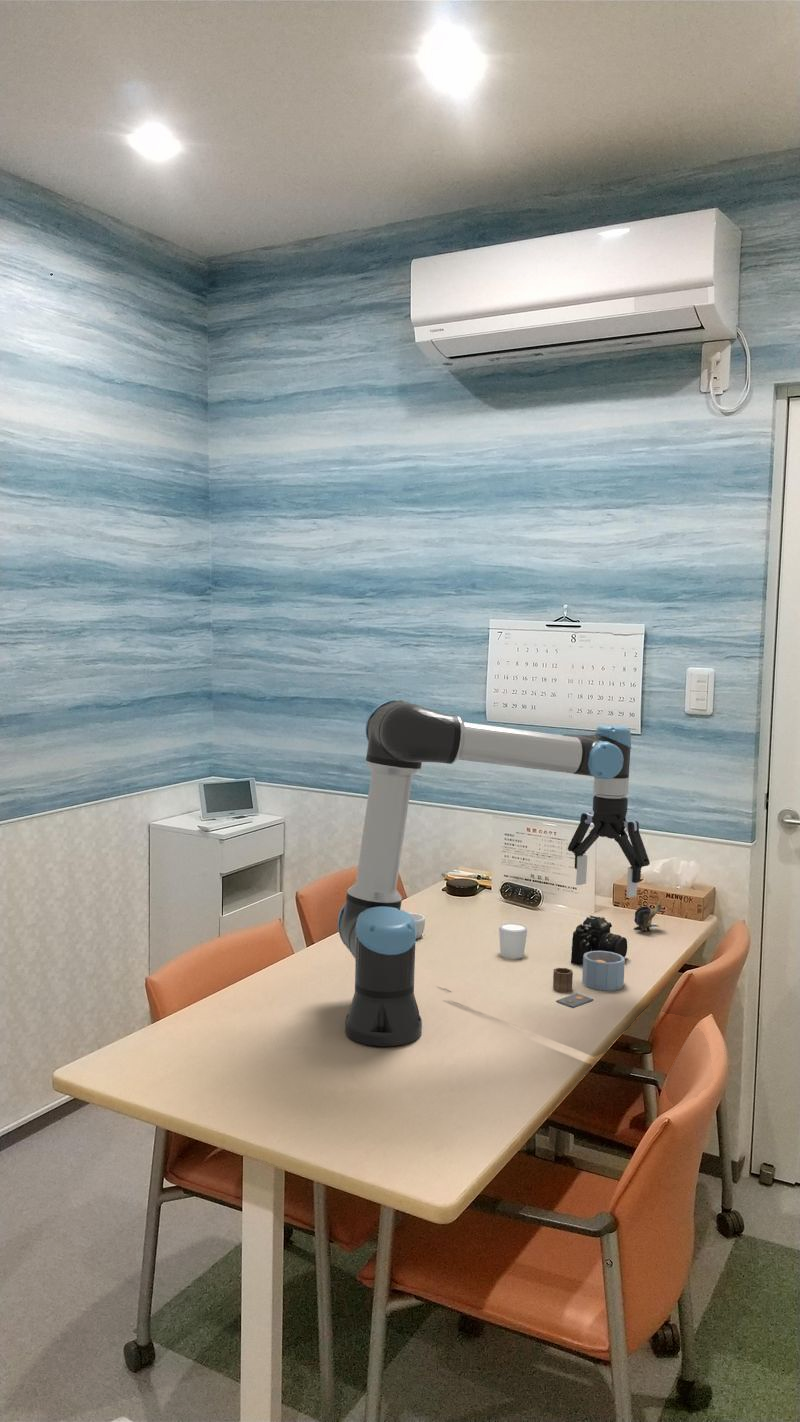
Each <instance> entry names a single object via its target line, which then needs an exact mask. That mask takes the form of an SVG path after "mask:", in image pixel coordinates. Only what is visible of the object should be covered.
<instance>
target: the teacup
mask: <svg viewBox="0 0 800 1422" xmlns="http://www.w3.org/2000/svg"><path fill="white" fill-rule="evenodd" d="M408 913H409V914H410V915H411V916H412V917H413V919H414V921H415V929H416V940H417V939H419V938H421V937H422V935H423V933H424V931H425V923H426V922H425V921H426V917H425V915H424V914H420V913H415V912H408Z"/></svg>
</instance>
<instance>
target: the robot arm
mask: <svg viewBox="0 0 800 1422" xmlns="http://www.w3.org/2000/svg"><path fill="white" fill-rule="evenodd" d="M365 736H366V741H367V742H368V743H367V749H366V756H365V757H366V758H365V763H366V764H367V765H368V767H369V768H370V770H371V773H370V780H369V788H368V793H367V801H366V808H365V815H364V822H363V830H362V836H361V844H360V849H359V850H360V851H359V856H358V857H359V858H358V866H357V871H356V876H355V877H356V878H355V883H354V884H352V886H350V887H349V888H348V889H346V897H345V903H343V906H342V907H341V909H340V911H339V913H338V918H337V929H338V930H337V931H338V934H339V937H340V939H341V941H342V944H343V946H344V945H345V947H346V949H348V951H349V952H350V953H351V955H352V956H353V958H354V960H355V966H354V967H355V969H354V994H353V997H352V1000H351V1002H350V1007H349V1012H348V1013H347V1015H346V1017H345V1018H344V1019H345V1021H344V1032H345V1034H346V1036H347V1037H348V1038H350V1040H353V1041H355V1042H357V1043H360V1044H363V1045H368V1046H376V1047H377V1046H378V1047H395V1046H400V1045H406V1044H409V1043H412V1042H414V1041H416V1040H418V1039H419V1038H421V1036H422V1031H423V1020H422V1016H421V1015H420V1012H419V1011H420V1010H419V1007H418V1003H417V1000H416V997H415V968H416V967H415V965H416V962H415V961H416V941H417V939H416V929H415V921H414V919H413V917H412V916H411V915H410V914H409V913H410V912H407V911H405V910H403V909H401V908H402V901H403V900H402V899H403V896H402V895H401V894H400V892H399V891H398V890H397V887H398V886H397V885H398V878H399V872H400V865H401V860H402V859H401V858H402V851H403V846H404V845H403V844H404V838H405V837H404V836H405V829H406V823H407V816H408V809H409V803H410V794H411V789H412V781H413V776H415V775H416V774H417V773H418V772H420V771H421V769H422V764H423V763H436V764H437V763H439V764H447V765H448V764H449V765H454V764H455V762H457V761H465V762H466V761H467V762H474V763H475V762H476V763H484V764H490V765H491V764H492V765H498V766H508V767H515V768H516V767H517V768H524V769H531V770H541V771H549V772H555V773H556V772H557V773H558V772H559V773H566V774H573V775H579V776H587V777H588V776H589V777H594V778H593V790H592V791H593V793H594V794H595V795H593V797H592V813H593V814H592V813H591V812H583V813H581V815H580V819H579V820H580V822H579V823H578V826H577V828H576V830H575V832H574V834H573V836H572V838H571V840H570V841H569V844H568V846H567V850H568V851H569V852H571V853H573V854H574V869H575V870H576V875H575V876H576V878H575V879H576V880H575V881H576V882H575V885H576V886H581V885H586V884H587V874H588V873H587V872H588V871H587V870H588V855H587V854H586V853H587V851H588V850H589V849H590V848H591V846H592V845H594V843H595V842H596V840H597V839H598V838H599V837H601V838H608V839H610V840H611V839H613V840H614V841H615V842H616V843H617V844H618V845H619V847H620V849H621V851H622V852H623V854H624V856H625V858H626V859H627V861H628V863H629V865H630V867H628V868H627V881H626V882H627V884H626V898H628V899H631V898H636V897H637V895H638V894H637V893H638V883H640V882H641V877H642V876H641V875H642V868H643V867H648V866H650V863H651V862H650V859H649V856H648V854H647V850H646V847H645V845H644V842H643V839H642V836H641V833H640V825H639V821H637V820H634V821H627V814H628V803H629V798H628V797H626V796H628V795H629V783H630V782H629V780H630V765H631V763H630V762H631V749H632V736H631V730H630V728H629V727H626V726H623V725H598V726H597V727H596V731H595V734H568V733H567V734H566V733H565V734H563V733H560V734H555V733H547V732H540V731H534V730H524V729H519V728H518V729H517V728H510V727H504V726H503V727H502V726H495V725H489V724H481V723H476V722H475V723H474V722H468V721H467V722H466V721H463V720H462V719H461V717H460V716H458V715H455V714H449V713H442V712H439V711H436V710H432V709H430V708H427V707H425V706H421V705H419V704H416V703H415V704H414V703H411V702H409V701H404V700H402V699H401V700H400V699H398V700H397V699H394V700H388V701H385V702H381V703H380V704H379V705H377V706H376V707H375V708H373V709H372V711H371V712H370V713H369V715H368V717H367V720H366V722H365ZM591 824H593V827H592V829H590V831H588V830H589V828H590V826H591ZM626 831H627V832H626ZM587 832H589V833H588V835H587V836H586V834H587ZM585 836H586V837H585Z"/></svg>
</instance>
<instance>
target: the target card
mask: <svg viewBox="0 0 800 1422" xmlns="http://www.w3.org/2000/svg"><path fill="white" fill-rule="evenodd" d="M593 1001H594V998H593V997H589V996H586V995H583V994H581V993H577V992H576V993H574V994H571V995H567V996H565V997H562V998H560V999H557V1000H555V1002H556V1003H558V1004H560V1005H561V1004H562V1005H564V1006H567V1007H569V1008H571V1009H574V1008H577V1007H580V1006H582V1005H584V1004H587V1003H591V1002H593Z"/></svg>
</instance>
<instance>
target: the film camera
mask: <svg viewBox="0 0 800 1422" xmlns="http://www.w3.org/2000/svg"><path fill="white" fill-rule="evenodd" d="M612 927H613V924H612V923H611V922H608V920H606V918H605V917H602V916H596V915H593V914H592V915H591V914H590V915H589V916H587V917H586V919H585V920H583V922H582V923H580V924H579V925H577V926H576V928H575V930H574V931H573V932H572V942H571V957H570V964H573V965H577V966H583V956H584V953H587V952H590V951H607V952H613V953H616V954H620V955H621V956H623V957H624V958H625V959H626V956H627V953H628V940H627V938H626V937H624V936H623V937H622V936H621V935H619V934H614V933H612V932H611V928H612Z"/></svg>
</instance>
